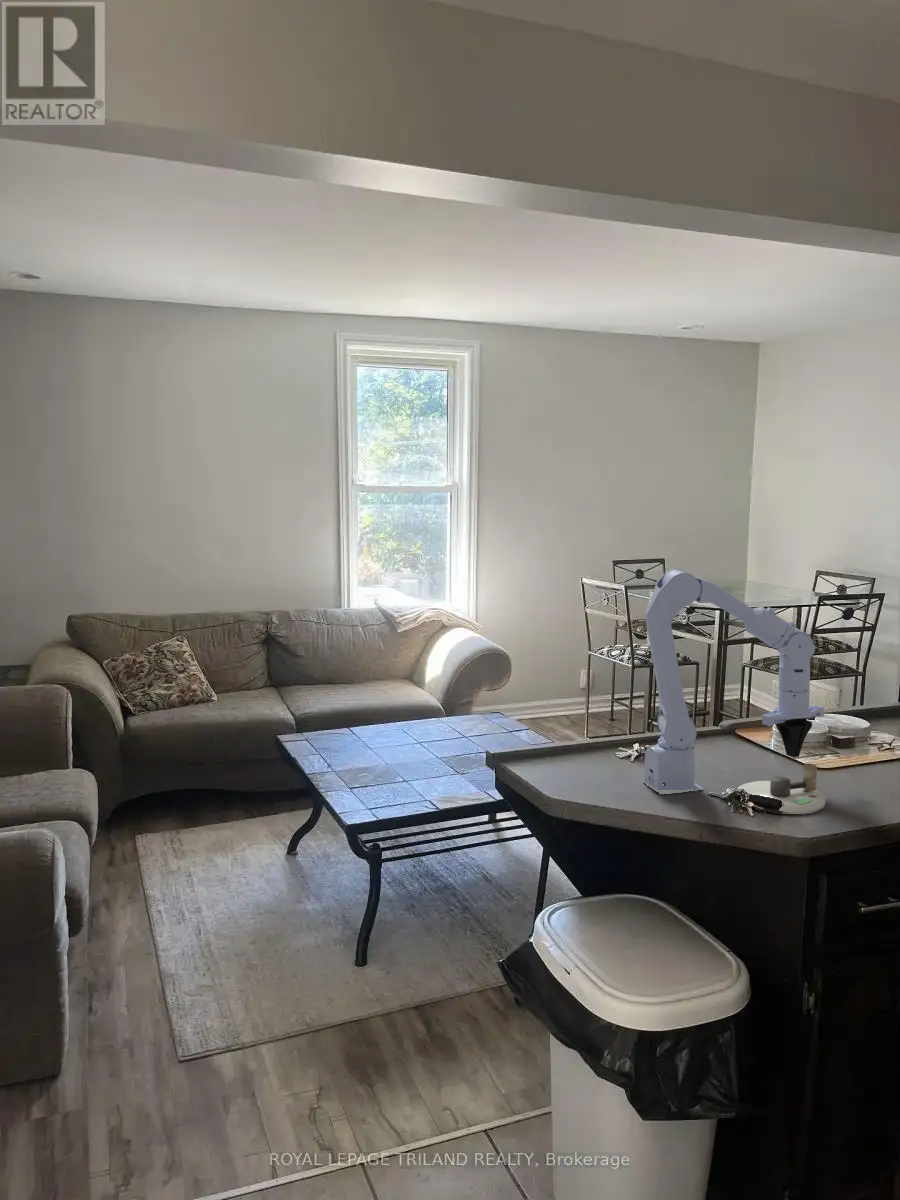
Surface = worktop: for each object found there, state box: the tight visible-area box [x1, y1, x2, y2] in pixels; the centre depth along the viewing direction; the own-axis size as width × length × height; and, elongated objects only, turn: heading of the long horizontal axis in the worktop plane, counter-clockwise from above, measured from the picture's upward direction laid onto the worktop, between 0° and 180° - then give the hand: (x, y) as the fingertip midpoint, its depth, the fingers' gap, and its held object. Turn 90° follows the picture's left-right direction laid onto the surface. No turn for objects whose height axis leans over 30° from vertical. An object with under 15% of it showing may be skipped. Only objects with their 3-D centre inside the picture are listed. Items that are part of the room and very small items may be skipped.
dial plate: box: [736, 780, 826, 813], centre depth 166 cm, size 16×16×1 cm
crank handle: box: [769, 763, 818, 797], centre depth 166 cm, size 10×4×5 cm, turn 104°
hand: (792, 755), depth 172 cm, fingers closed
